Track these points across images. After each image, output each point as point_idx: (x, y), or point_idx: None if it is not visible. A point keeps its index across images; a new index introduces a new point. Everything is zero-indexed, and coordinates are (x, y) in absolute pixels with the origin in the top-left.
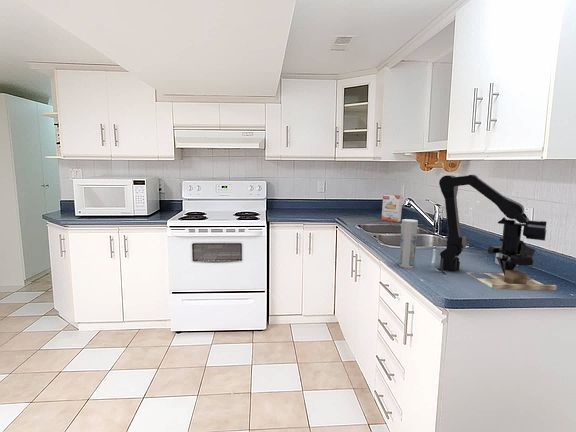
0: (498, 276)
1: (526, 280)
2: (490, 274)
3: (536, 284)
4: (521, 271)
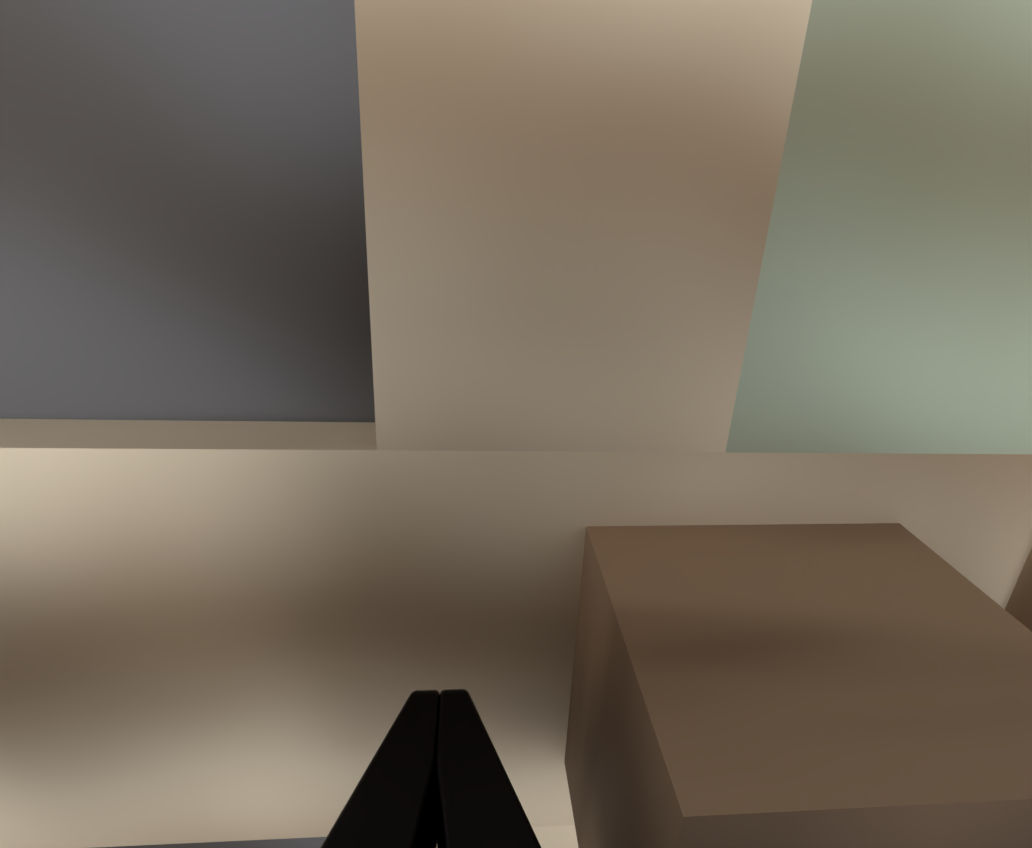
0: (182, 701)
1: (1005, 627)
2: (49, 781)
3: (835, 140)
4: (878, 816)
